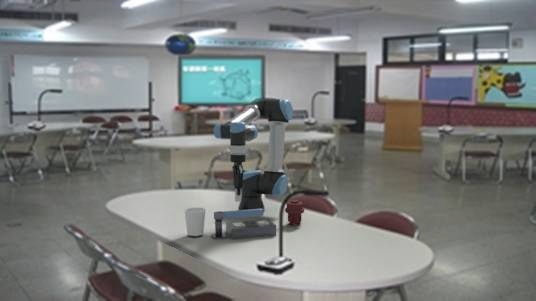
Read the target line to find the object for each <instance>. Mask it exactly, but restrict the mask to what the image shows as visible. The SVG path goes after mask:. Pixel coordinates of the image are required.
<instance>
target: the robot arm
mask: <svg viewBox="0 0 536 301" xmlns="http://www.w3.org/2000/svg"><path fill="white" fill-rule="evenodd" d="M293 117H294V108H293V105H292V102H291V101H290V100H288V99H284V98H264V99H263V98H262V99H259V100H256V101H254V102H252V103H251V104H250V103H249V105H247V106H246V107H245V109H244V110H243V111H241V112H240V113H238V114H237V115H235V116H234V117H233V118H231V119H230V120H228V121H226V122H225V123H218V124H217V123H216V124H215V126H214V128H213V135H214V138H215V139H220V140H229V141H230V142H229V143H230V145H229V146H230V147H228V148H229V150H230V152H229V153H230V155H229V156H230V162H231V163H233V165H232V167H231V169H232V178H233V181H232V182H233V186H234V202H236V203H237V202H239V203H238V206H237V209H238V210H249V209H263V213H264V212H265V210H266V209H265V208H266V207H265V204H264V202H263V198H262V197H263V196H262V195H264V196H265V195H267V196H274V197H275V196H276V197H277V196H278V197H279V196H283V195H284V194H285V193H286V191H287V188H288V183H289V180H288V175H285V171H284V169H283V164H284V163H283V161H284V149H285V139H286V137H285V136H286V127H287V126H288V125H289V122H290V121H292V120H293ZM258 120H267V124H268V125H270V126H269V138H268V152H267V161H266V168H265V169H264V170H263V173H262V170H258V169H257V170H250V171H245V169H244V166H243V163H245V162H246V159H247V158H246V152H247V150H246V149H247V146H246V141H252V140H254V139H255V138H257V136H258V134H259V132H258V130H259V129H258V128H257V127H256V126H255V125H253V124H251V123H252V122H256V121H258ZM244 171H245V172H244Z"/></svg>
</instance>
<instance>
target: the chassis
mask: <svg viewBox="0 0 536 301" xmlns="http://www.w3.org/2000/svg"><path fill="white" fill-rule="evenodd" d="M225 235H226V236H228V237H229V238H230V239H231V240H241V239H243V240H244V239H251V238H264V237H272V236H274V237H275V236H277V225H276V224H275V223H274V222H272V221H271V220H270V219H257V220H247V221H246V220H245V221H244V220H243V221H233V222H225Z"/></svg>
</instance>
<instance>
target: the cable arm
mask: <svg viewBox="0 0 536 301" xmlns="http://www.w3.org/2000/svg"><path fill="white" fill-rule="evenodd" d="M263 216H264V212H263V209H249V210H226V211H214V212H213V219H214V221H215V220H221V219H222V220H226V219H238V218H249V217H250V218H251V217H263Z"/></svg>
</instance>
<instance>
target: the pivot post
mask: <svg viewBox="0 0 536 301" xmlns="http://www.w3.org/2000/svg"><path fill="white" fill-rule="evenodd" d="M214 224H215V225H214V226H215V228H214V231H215V232H214V233H213V234H210V236H211V238H212V239H213V240H220V239H221V240H224V239H227V235H226V233H225V234H224V232H223V219H221V220H215V219H214Z"/></svg>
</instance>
